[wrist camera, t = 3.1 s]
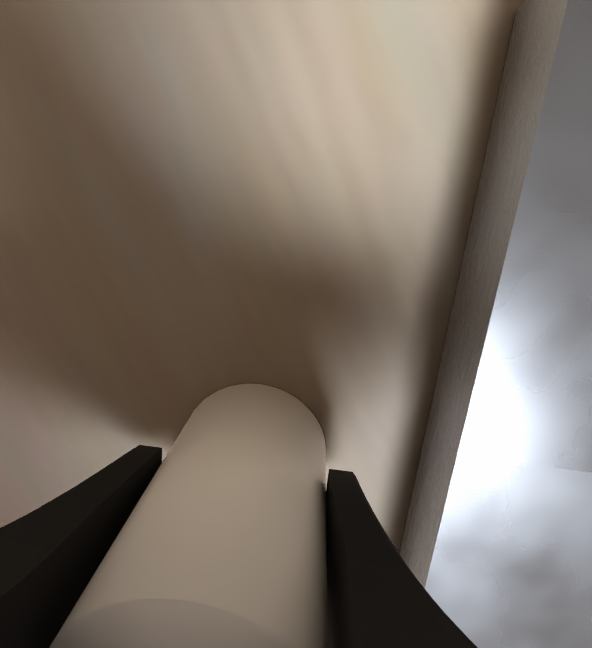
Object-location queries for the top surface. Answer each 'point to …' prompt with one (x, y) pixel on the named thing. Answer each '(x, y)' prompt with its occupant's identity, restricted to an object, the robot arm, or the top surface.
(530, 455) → the plate
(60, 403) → the top surface
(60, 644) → the white rounded cylinder
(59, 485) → the top surface
